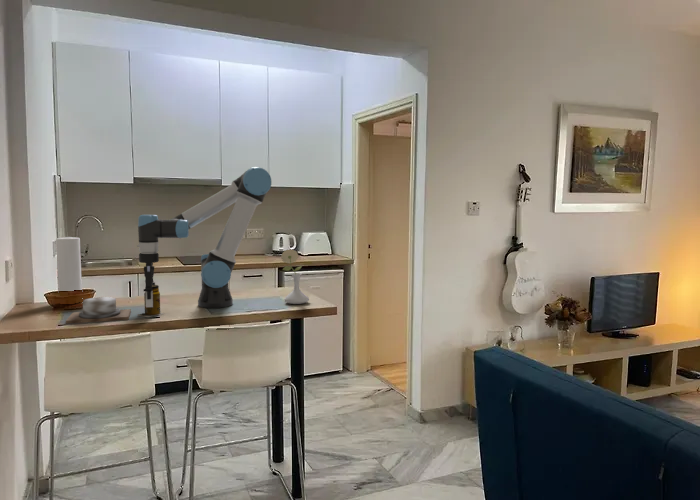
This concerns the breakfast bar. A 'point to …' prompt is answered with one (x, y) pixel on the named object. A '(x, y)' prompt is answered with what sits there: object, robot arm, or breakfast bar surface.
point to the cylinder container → (69, 264)
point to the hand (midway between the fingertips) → (149, 303)
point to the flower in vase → (296, 294)
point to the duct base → (80, 320)
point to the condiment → (156, 304)
